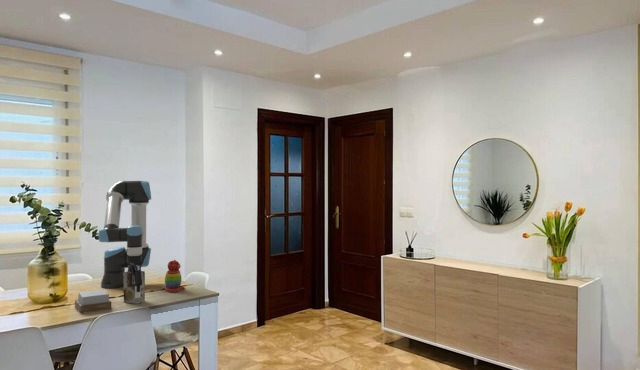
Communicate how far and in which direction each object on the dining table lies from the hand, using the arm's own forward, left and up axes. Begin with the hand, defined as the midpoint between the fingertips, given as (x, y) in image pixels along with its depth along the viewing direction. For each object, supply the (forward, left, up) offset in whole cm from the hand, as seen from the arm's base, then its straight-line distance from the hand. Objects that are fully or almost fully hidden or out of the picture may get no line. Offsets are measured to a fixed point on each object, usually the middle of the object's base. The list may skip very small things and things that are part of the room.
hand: (134, 295), depth 239 cm
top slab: (-1, -20, 0) cm, 20 cm away
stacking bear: (-11, +26, -3) cm, 28 cm away
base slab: (-1, -20, -4) cm, 20 cm away
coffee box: (0, 0, -3) cm, 3 cm away
